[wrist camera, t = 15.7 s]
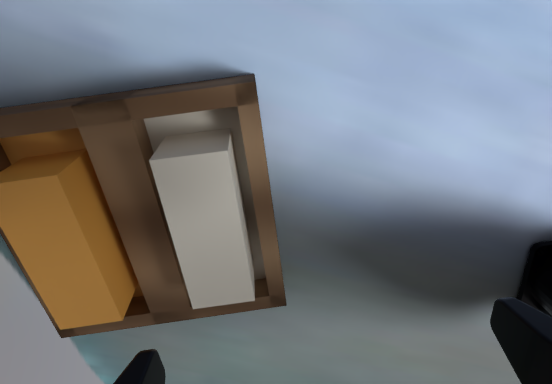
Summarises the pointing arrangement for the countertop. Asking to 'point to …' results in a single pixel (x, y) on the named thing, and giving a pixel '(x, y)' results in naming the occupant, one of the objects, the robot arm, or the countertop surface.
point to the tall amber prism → (67, 238)
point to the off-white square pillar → (206, 216)
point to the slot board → (141, 184)
